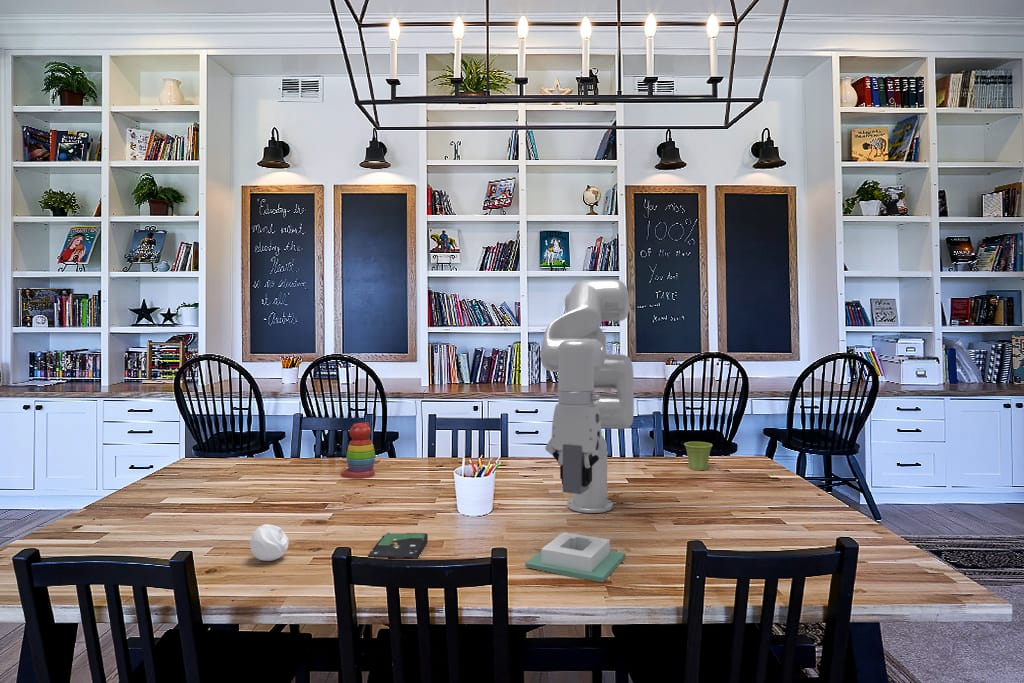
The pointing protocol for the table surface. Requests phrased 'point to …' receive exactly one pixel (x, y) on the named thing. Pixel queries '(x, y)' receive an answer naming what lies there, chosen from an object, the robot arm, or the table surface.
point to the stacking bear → (360, 453)
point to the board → (581, 574)
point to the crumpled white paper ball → (268, 542)
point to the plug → (573, 470)
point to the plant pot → (698, 455)
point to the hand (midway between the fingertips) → (576, 483)
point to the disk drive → (400, 546)
